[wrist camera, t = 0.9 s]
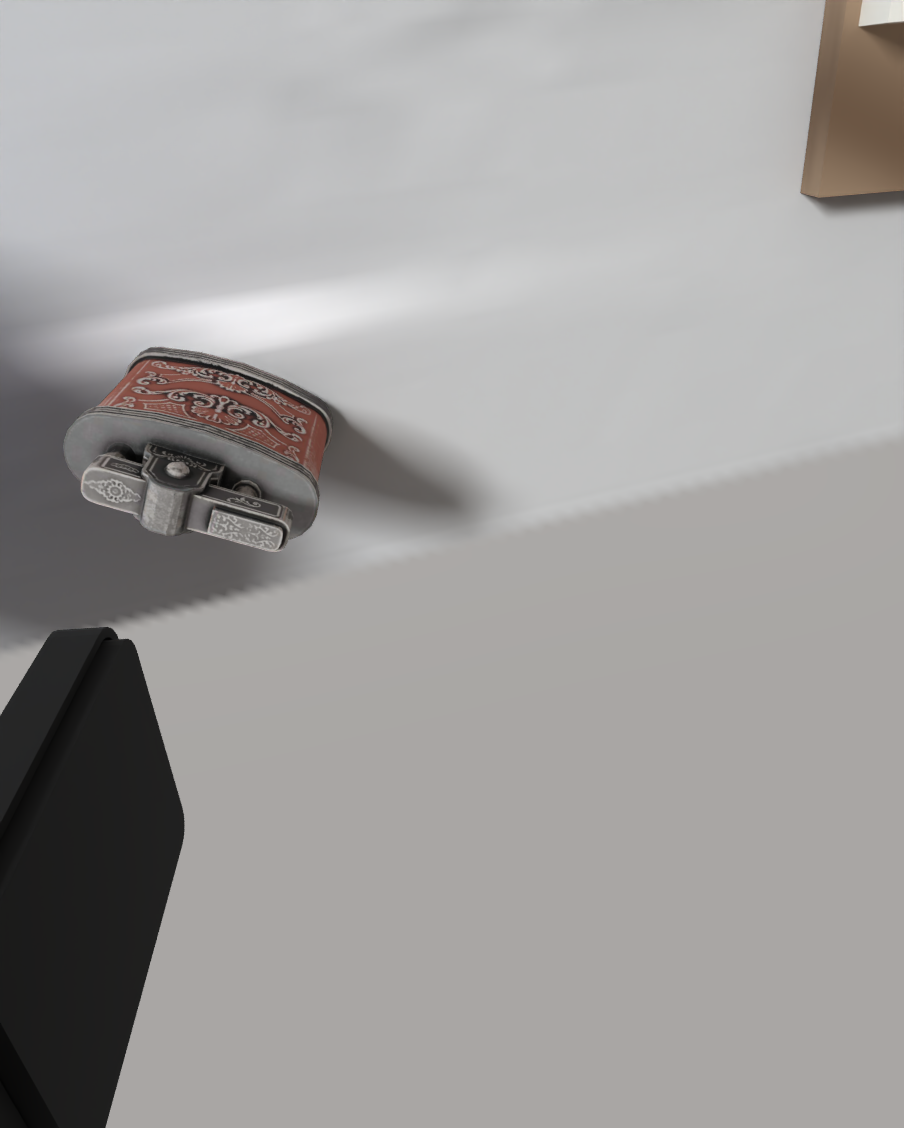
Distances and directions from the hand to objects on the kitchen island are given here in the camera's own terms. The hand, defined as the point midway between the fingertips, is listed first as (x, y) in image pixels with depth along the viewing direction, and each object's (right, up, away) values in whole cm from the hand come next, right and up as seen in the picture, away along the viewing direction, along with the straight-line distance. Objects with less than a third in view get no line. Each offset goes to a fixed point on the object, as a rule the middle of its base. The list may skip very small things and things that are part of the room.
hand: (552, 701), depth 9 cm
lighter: (-10, +8, +23) cm, 27 cm away
